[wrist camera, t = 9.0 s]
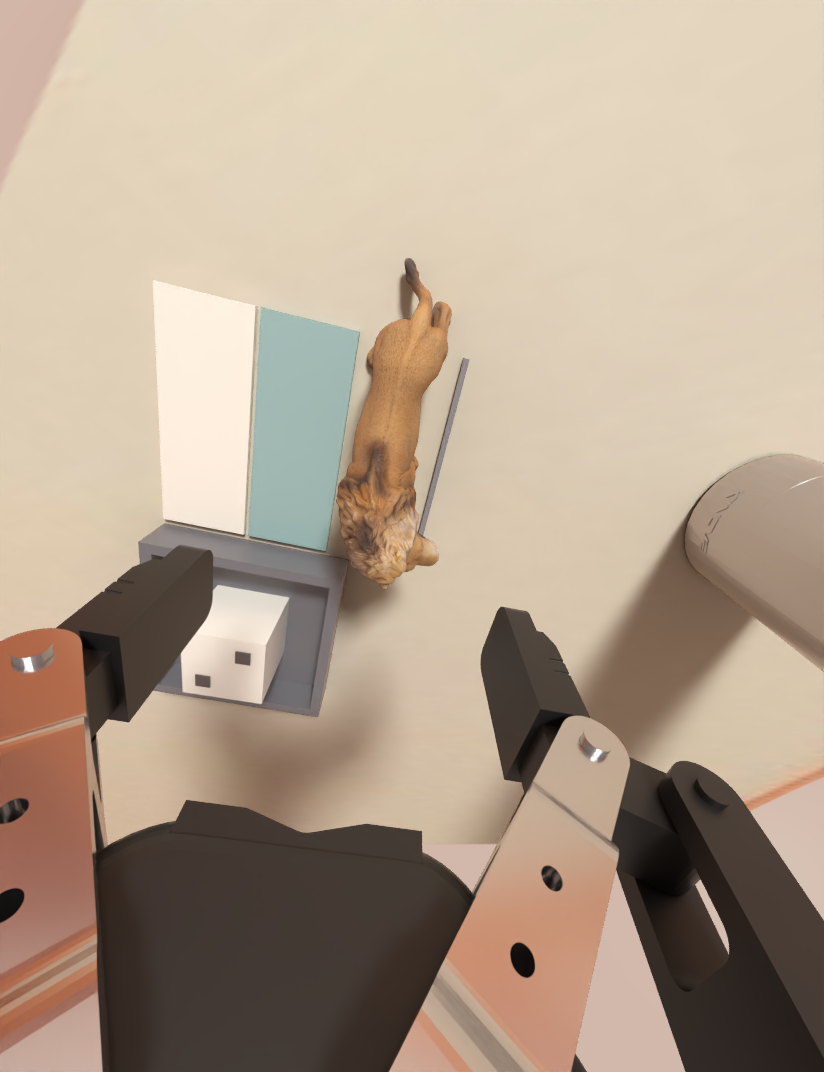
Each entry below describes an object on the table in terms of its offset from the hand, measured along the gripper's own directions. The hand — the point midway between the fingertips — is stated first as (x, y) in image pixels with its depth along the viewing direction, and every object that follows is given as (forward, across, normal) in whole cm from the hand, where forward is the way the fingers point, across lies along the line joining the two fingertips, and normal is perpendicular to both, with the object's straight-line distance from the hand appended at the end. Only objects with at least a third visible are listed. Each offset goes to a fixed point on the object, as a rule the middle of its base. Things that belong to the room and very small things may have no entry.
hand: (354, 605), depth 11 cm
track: (+15, +5, 0) cm, 16 cm away
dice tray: (+15, +7, +14) cm, 22 cm away
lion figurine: (+15, 0, -3) cm, 16 cm away
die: (+14, +7, +14) cm, 21 cm away
